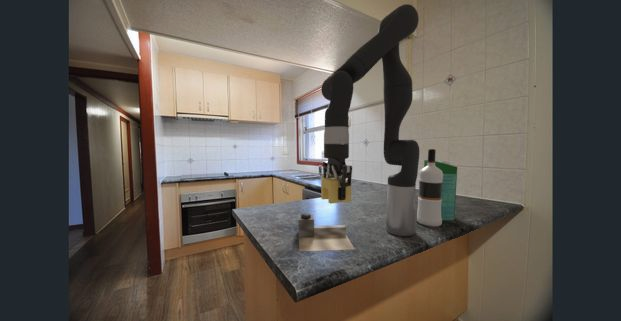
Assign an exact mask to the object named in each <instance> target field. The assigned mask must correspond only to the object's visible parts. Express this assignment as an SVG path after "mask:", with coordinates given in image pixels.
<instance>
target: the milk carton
mask: <svg viewBox="0 0 621 321" xmlns="http://www.w3.org/2000/svg"><path fill="white" fill-rule="evenodd" d="M423 162H424V165H423V166H424V167H426V166H427V165H428V159H424V160H423ZM435 166H436V167H437V168H439V169H440V170H442V172H443V182H442V195H441V200H442V202H441V218H442V221H455V218H456V216H455V212H456V199H457V198H456V196H457V180H458V166H455V165H452V164H451V162H449V161H446V160H440V159H439V160H438V161H437V160H435ZM424 167H423V168H424Z"/></svg>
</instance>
